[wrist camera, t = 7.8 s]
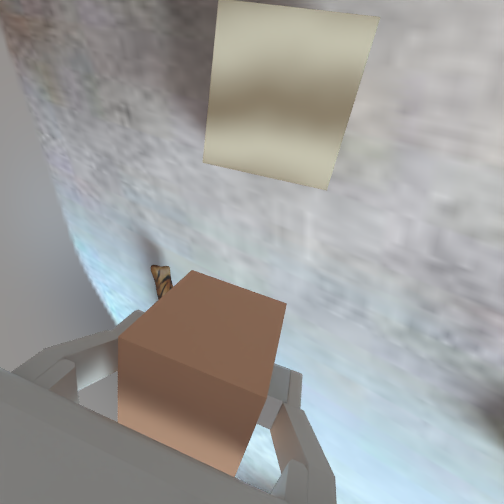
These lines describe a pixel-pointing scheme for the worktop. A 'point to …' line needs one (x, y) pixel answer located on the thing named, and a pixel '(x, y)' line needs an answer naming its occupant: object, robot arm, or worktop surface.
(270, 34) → the birch slab
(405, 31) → the worktop surface
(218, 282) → the terracotta block
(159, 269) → the knife
